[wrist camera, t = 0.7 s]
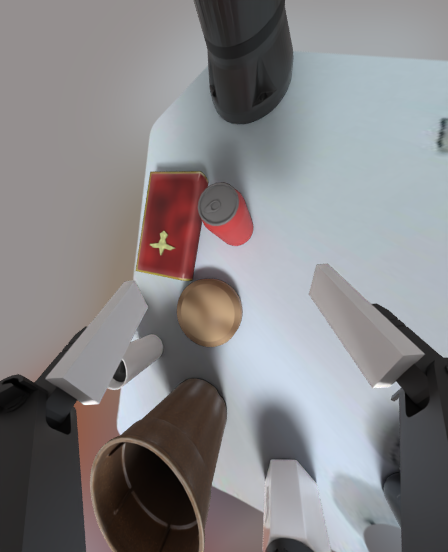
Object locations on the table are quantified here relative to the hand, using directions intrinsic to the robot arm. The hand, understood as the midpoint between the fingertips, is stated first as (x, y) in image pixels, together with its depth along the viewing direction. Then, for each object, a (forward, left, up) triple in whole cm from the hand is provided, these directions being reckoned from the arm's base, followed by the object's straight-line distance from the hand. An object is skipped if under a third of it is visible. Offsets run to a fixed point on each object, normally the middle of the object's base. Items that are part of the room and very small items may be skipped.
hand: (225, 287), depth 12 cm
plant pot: (+29, -1, -20) cm, 35 cm away
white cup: (+23, -16, -20) cm, 34 cm away
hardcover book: (-4, -20, -21) cm, 29 cm away
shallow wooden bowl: (+9, -6, -20) cm, 22 cm away
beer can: (-8, -7, -20) cm, 23 cm away
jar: (+31, +19, -20) cm, 41 cm away
